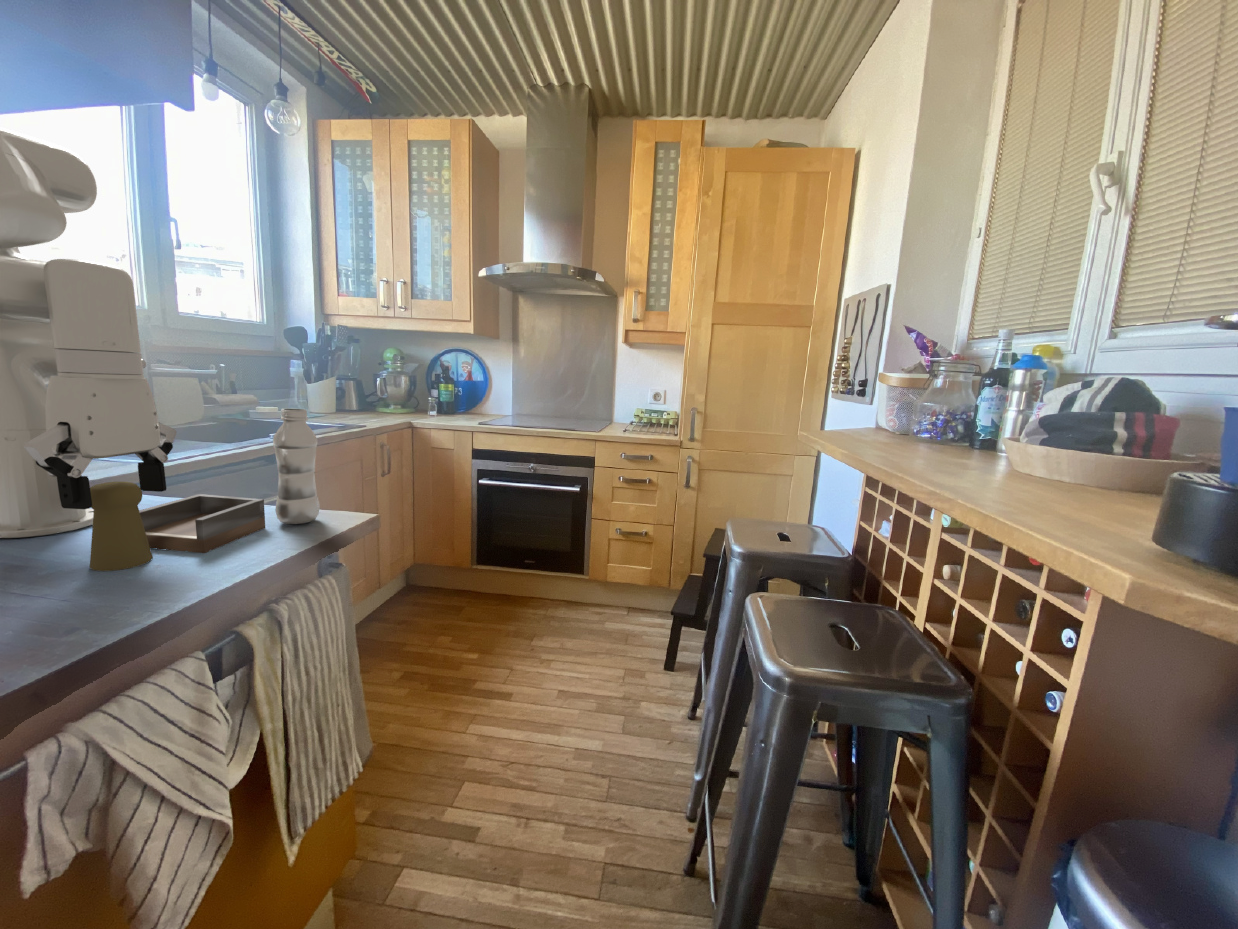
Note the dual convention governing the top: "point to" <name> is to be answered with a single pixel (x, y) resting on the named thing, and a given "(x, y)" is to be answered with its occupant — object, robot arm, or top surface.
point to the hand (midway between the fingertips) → (118, 498)
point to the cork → (117, 527)
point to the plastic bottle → (296, 468)
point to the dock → (202, 522)
